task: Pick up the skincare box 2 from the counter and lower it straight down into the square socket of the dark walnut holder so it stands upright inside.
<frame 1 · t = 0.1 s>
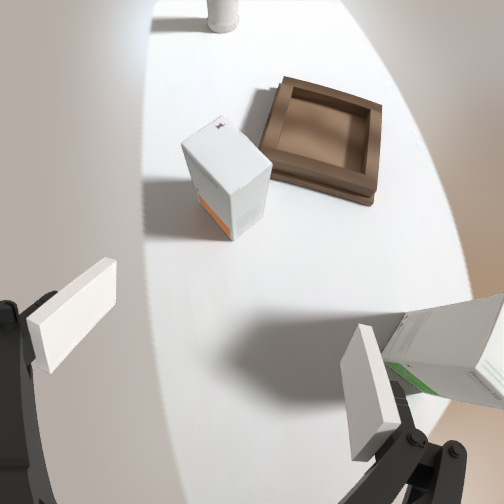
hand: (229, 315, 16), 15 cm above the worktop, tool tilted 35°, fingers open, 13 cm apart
serum holder: (322, 140, 36), on the worktop
bottle: (223, 26, 42), on the worktop
skincare box 2: (230, 211, 34), on the worktop
skincare box: (416, 352, 31), on the worktop
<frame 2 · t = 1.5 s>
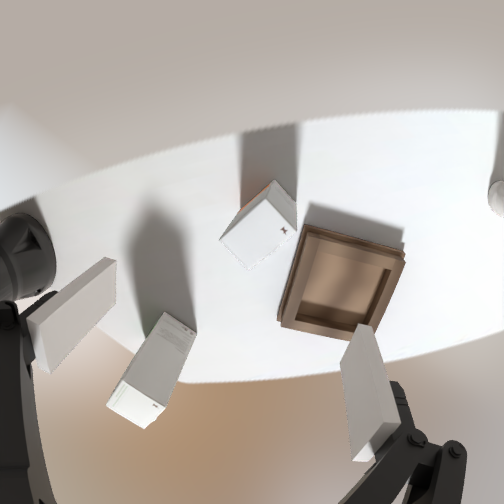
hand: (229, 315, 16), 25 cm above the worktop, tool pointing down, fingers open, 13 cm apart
serum holder: (339, 285, 42), on the worktop
bottle: (498, 196, 34), on the worktop
skincare box 2: (267, 206, 39), on the worktop
skincare box: (171, 337, 48), on the worktop
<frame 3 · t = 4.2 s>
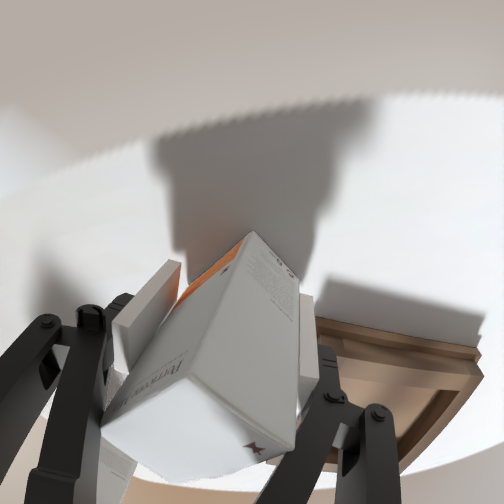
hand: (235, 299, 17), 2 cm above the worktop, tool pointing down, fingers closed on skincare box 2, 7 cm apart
serum holder: (367, 403, 22), on the worktop
skincare box 2: (240, 281, 20), on the worktop, touching gripper
skincare box: (115, 437, 29), on the worktop
when the fingers open (5 cm above the worktop, at t = 10.2 s): skincare box 2 drops 2 cm, resting on serum holder.
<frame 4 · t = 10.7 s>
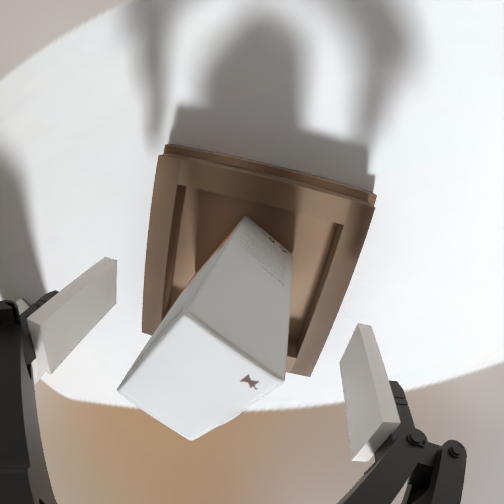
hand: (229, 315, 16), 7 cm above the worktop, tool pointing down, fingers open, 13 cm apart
serum holder: (248, 261, 23), on the worktop
skincare box 2: (241, 263, 22), point 1 cm above the worktop, touching serum holder
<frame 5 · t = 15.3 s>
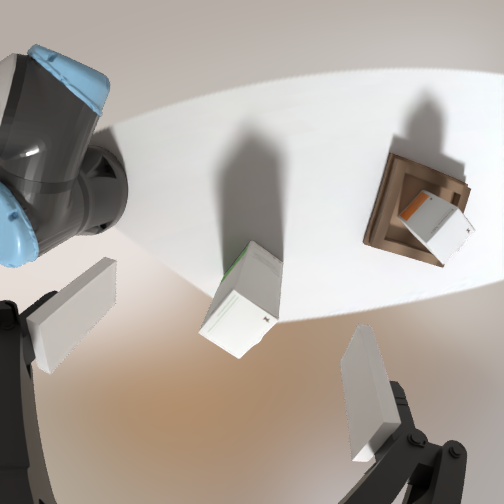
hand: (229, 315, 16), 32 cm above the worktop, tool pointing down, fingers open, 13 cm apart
serum holder: (417, 211, 43), on the worktop
skincare box 2: (417, 211, 42), point 1 cm above the worktop, touching serum holder
skincare box: (253, 270, 50), on the worktop
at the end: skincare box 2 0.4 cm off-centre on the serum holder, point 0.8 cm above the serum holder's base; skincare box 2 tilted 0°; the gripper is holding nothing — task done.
